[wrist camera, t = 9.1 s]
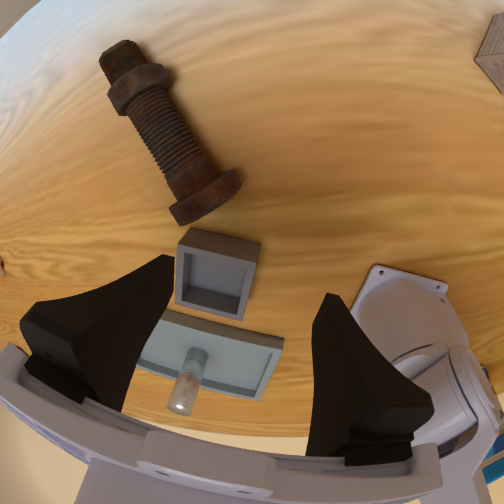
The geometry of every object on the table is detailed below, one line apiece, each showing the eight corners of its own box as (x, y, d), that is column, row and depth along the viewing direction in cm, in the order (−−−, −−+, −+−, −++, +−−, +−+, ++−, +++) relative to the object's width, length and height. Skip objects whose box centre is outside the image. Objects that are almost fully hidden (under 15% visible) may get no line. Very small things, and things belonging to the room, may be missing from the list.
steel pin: (208, 349, 30) (190, 407, 23) (208, 363, 31) (191, 418, 24) (187, 345, 30) (165, 400, 23) (188, 358, 31) (168, 411, 24)
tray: (283, 338, 28) (282, 350, 27) (260, 391, 34) (258, 401, 32) (129, 297, 28) (122, 306, 27) (138, 357, 34) (133, 366, 33)
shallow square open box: (260, 244, 23) (256, 262, 20) (247, 299, 26) (242, 321, 24) (190, 227, 23) (177, 243, 20) (185, 284, 26) (174, 303, 24)
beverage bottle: (445, 378, 30) (473, 491, 12) (489, 355, 27) (526, 460, 10) (442, 400, 33) (462, 496, 16) (481, 381, 30) (509, 472, 13)
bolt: (146, 51, 17) (229, 189, 22) (95, 80, 17) (178, 222, 22) (143, 16, 12) (250, 188, 17) (78, 51, 11) (182, 232, 16)
